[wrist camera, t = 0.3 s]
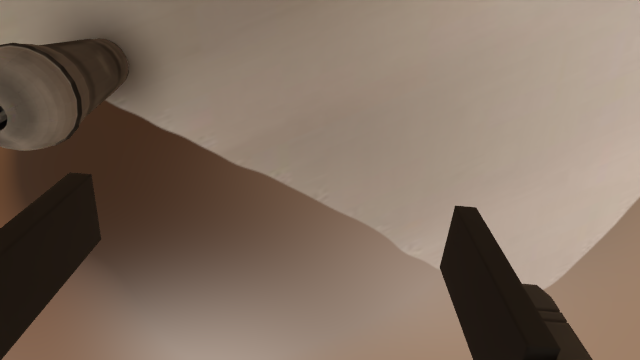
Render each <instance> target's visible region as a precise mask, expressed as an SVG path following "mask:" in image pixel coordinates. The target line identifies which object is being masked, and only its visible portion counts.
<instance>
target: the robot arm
mask: <svg viewBox="0 0 640 360" xmlns="http://www.w3.org/2000/svg"><path fill="white" fill-rule="evenodd" d="M100 240H101V235H100V229H99V222H98V215H97V208H96V202H95V195H94V188H93V182H92V175H91V174H80V173H69V174H67V175H66V176H65V177H64V178H62V179H61V180H60V181H59V182H58V183H56V184H55V185H54V186H53V187H51V188H50V189H49V190H48V191H46V192H45V193H44V194H43V195H41V196H40V197H39V198H38V199H37V200H35V201H34V202H33V203H31V204H30V205H29V206H28V207H27V208H25V209H24V210H23V211H22V212H20V213H19V214H18V215H17V216H15V217H14V218H13V219H12V220H10V221H9V222H8V223H7V224H5V225H4V226H3V227H2V228H0V360H1V359H2V358H3V357H4V356H5V355H6V353H7V352H8V351H9V350H10V348H11V347H12V346H13V345H14V344H15V343H16V341H17V340H18V339H19V338H20V337H21V335H22V334H23V333H24V332H25V330H26V329H27V328H28V327H29V326H30V324H31V323H32V322H33V321H34V320H35V318H36V317H37V316H38V315H39V314H40V312H41V311H42V310H43V309H44V308H45V306H46V305H47V304H48V303H49V302H50V300H51V299H52V298H53V297H54V295H55V294H56V293H57V292H58V291H59V289H60V288H61V287H62V286H63V284H64V283H65V282H66V281H67V280H68V279H69V277H70V276H71V275H72V274H73V273H74V271H75V270H76V269H77V268H78V266H79V265H80V264H81V263H82V262H83V260H84V259H85V258H86V257H87V256H88V254H89V253H90V252H91V251H92V250H93V248H94V247H95V246H96V245H97V244H98V242H99V241H100ZM440 269H441V272H442V275H443V278H444V280H445V283H446V286H447V288H448V291H449V294H450V297H451V300H452V302H453V305H454V308H455V311H456V313H457V316H458V319H459V322H460V324H461V327H462V330H463V333H464V336H465V338H466V341H467V344H468V347H469V349H470V352H471V355H472V358H473V360H592V358H591V357H590V355H589V354H588V352H587V351H586V349H585V348H584V346H583V345H582V343H581V342H580V340H579V339H578V337H577V335H576V334H575V333H574V331H573V329H572V328H571V326H570V325H569V324H568V323H567V321H566V319H565V317H564V316H563V314H562V313H560V310H559V309H558V307H557V305H556V304H555V302H554V301H553V299H552V298H551V297H550V296H549V295H548V294H547V293H545V292H544V291H543V290H542V289H541V288H540V287H538V286H537V285H530V284H522V283H521V282H520V280H519V278H518V277H517V275H516V273H515V272H514V270H513V268H512V267H511V265H510V263H509V262H508V260H507V258H506V257H505V255H504V253H503V252H502V250H501V248H500V247H499V245H498V243H497V242H496V240H495V238H494V237H493V235H492V233H491V232H490V230H489V228H488V227H487V225H486V223H485V222H484V220H483V218H482V217H481V215H480V213H479V212H478V210H477V208H475V207H464V206H455V209H454V213H453V217H452V221H451V225H450V229H449V233H448V237H447V241H446V245H445V249H444V253H443V257H442V261H441V265H440Z"/></svg>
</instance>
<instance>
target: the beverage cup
mask: <svg viewBox="0 0 640 360" xmlns="http://www.w3.org/2000/svg"><path fill="white" fill-rule="evenodd" d="M127 75H128V62H127V59H126V56H125V55H124V53H123V52H122V50H121V49H120V48H119V47H118V46H117V45H115V44H114V43H112V42H110V41H108V40H105V39H84V40H77V41H69V42H62V43H54V44H46V45H33V44H18V43H9V44H3V45H0V146H1V147H3V148H9V149H15V150H21V151H24V150H25V151H28V150H35V149H43V148H47V147H49V146H52V145H57V144H59V143H61V142H63V141H65V140H67V139H69V138H70V137H71V136H72V135H73V133H74V132H75V131H76V130H77V129H78V127H79V124H80V123H81V122H82V120H83V119H84V118H85V117H86V116H87V115H88V114H89V113H90V112H91V111H92V110H94V109H95V108H96V107H97V106H98V105H99V104H101V103H102V102H103V101H104V100H105V99H106V98H107V97H109V96H110V95H111V94H112V93H113V92H114V91H115V90H117V88H118V87H119V86H120V85H121V84H122V83H123V82H124V81H125V79H126V78H127Z"/></svg>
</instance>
